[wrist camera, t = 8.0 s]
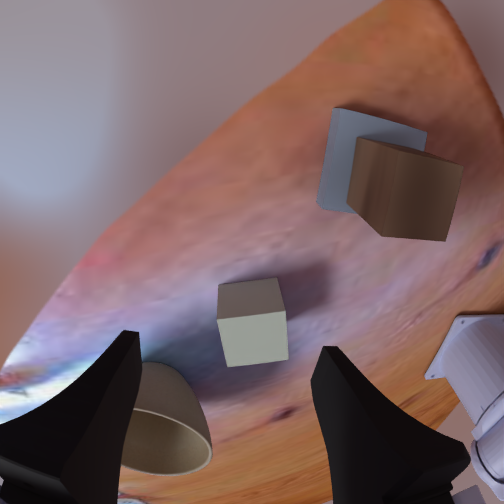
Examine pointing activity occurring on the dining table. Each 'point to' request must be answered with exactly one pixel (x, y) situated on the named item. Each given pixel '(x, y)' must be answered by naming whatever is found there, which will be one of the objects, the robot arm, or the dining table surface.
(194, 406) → the flower pot
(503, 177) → the dining table surface
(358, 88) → the dining table surface
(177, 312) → the dining table surface
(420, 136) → the slate slab
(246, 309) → the sage block
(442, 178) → the walnut block
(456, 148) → the dining table surface
